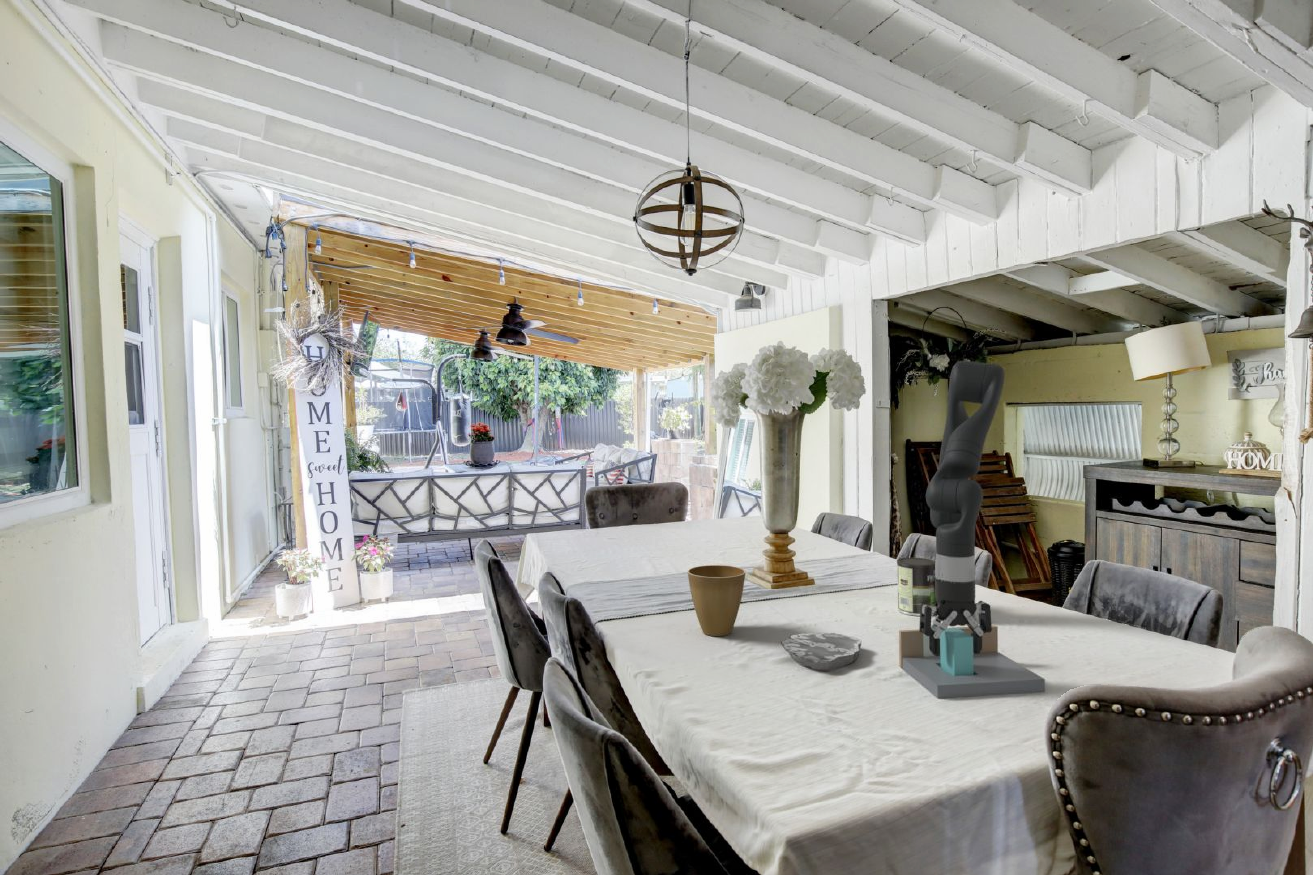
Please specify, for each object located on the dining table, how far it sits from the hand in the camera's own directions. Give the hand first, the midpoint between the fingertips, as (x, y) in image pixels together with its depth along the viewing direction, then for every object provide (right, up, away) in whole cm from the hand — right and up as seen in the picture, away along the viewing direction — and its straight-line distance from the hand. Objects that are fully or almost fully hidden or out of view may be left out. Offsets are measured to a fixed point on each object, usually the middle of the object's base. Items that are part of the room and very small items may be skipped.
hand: (955, 653), depth 137 cm
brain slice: (-24, -6, +16) cm, 29 cm away
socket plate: (+3, -6, 0) cm, 6 cm away
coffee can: (+11, -4, +49) cm, 50 cm away
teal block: (0, -6, 0) cm, 6 cm away
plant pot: (-46, -6, +35) cm, 58 cm away
